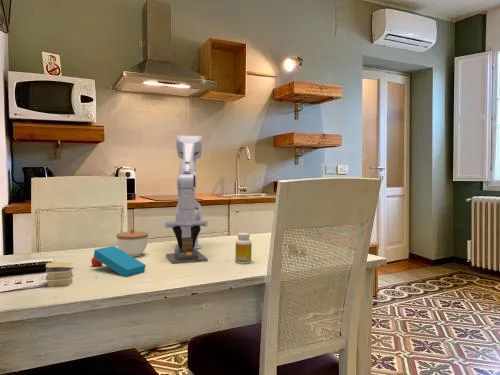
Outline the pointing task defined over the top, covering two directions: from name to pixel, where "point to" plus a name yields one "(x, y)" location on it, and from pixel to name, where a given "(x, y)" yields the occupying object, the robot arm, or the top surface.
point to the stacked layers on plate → (59, 274)
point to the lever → (117, 261)
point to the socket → (186, 256)
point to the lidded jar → (132, 242)
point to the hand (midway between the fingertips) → (186, 247)
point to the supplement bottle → (243, 248)
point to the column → (187, 244)
